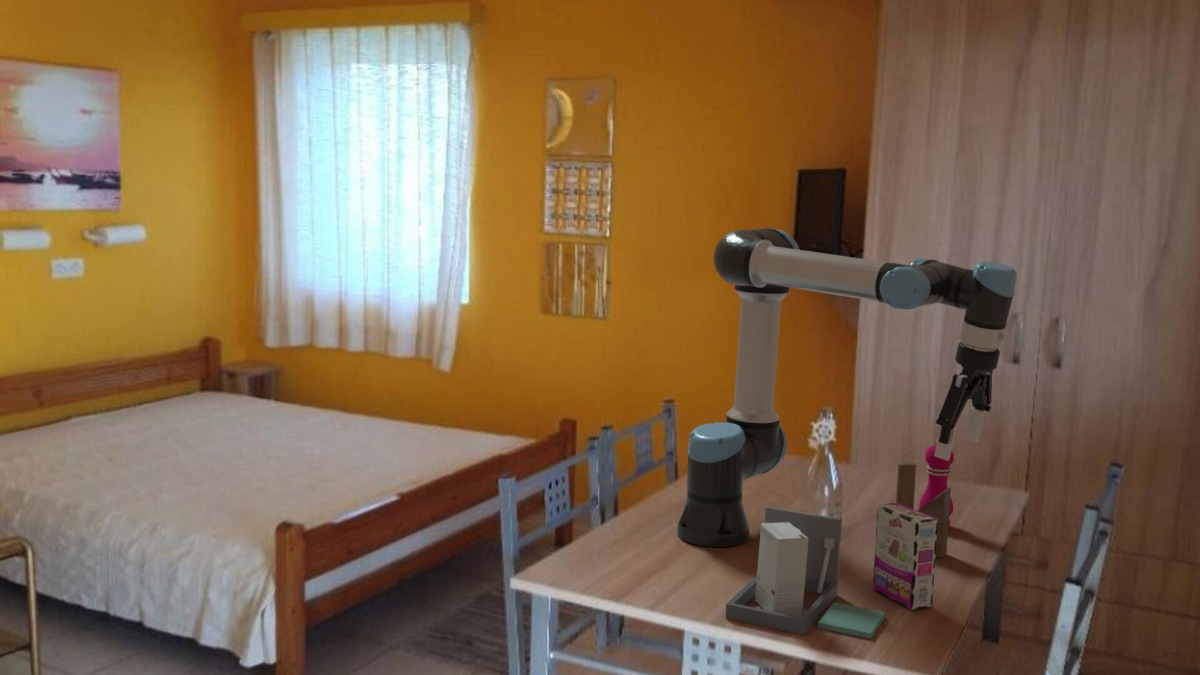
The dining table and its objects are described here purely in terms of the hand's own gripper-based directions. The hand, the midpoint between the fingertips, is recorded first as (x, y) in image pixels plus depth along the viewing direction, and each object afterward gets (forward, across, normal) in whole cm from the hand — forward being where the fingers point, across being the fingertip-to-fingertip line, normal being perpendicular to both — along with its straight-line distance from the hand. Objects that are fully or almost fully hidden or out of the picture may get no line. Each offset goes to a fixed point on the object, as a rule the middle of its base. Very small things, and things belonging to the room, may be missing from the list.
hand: (956, 449), depth 204 cm
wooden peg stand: (+26, +4, +4) cm, 26 cm away
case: (+23, -41, +10) cm, 48 cm away
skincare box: (+23, -43, +10) cm, 49 cm away
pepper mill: (+28, +21, +8) cm, 36 cm away
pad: (+21, -39, -2) cm, 44 cm away
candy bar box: (+22, -23, -4) cm, 32 cm away
